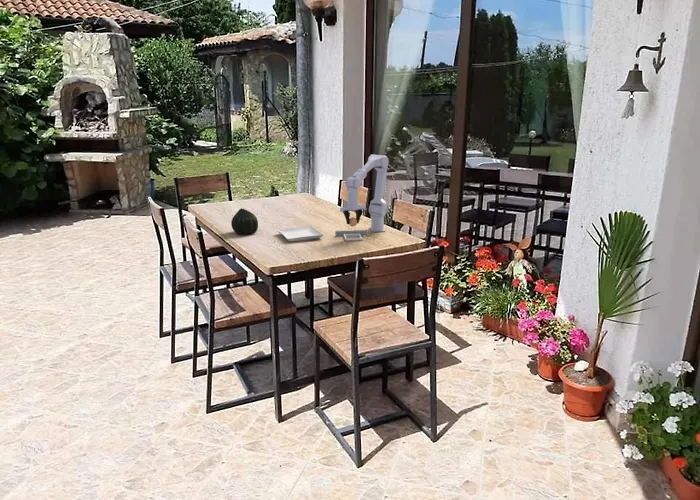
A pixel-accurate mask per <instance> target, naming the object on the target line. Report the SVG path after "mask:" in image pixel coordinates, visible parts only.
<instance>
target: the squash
mask: <svg viewBox="0 0 700 500" xmlns="http://www.w3.org/2000/svg"><path fill="white" fill-rule="evenodd" d="M230 223H231V224H230V225H231V228H232V230H233V232H235V234H238V235H240V236H242V235H245V234H250V235H252V234H255V233H256V232H258V229H259V220H258V218H257V215H255V214H254V213H252V212H251V211H250V210H247V209H246V208H239V209H238V211H237V212H236V213H235V214H234V215H233V216H232V218H231V222H230Z"/></svg>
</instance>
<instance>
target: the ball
mask: <svg viewBox="0 0 700 500" xmlns="http://www.w3.org/2000/svg"><path fill="white" fill-rule="evenodd" d="M348 225H349V226H350V227H351V228H352V227H356V226H357V220H356V217H354V216H353V217H349V224H348Z"/></svg>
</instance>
